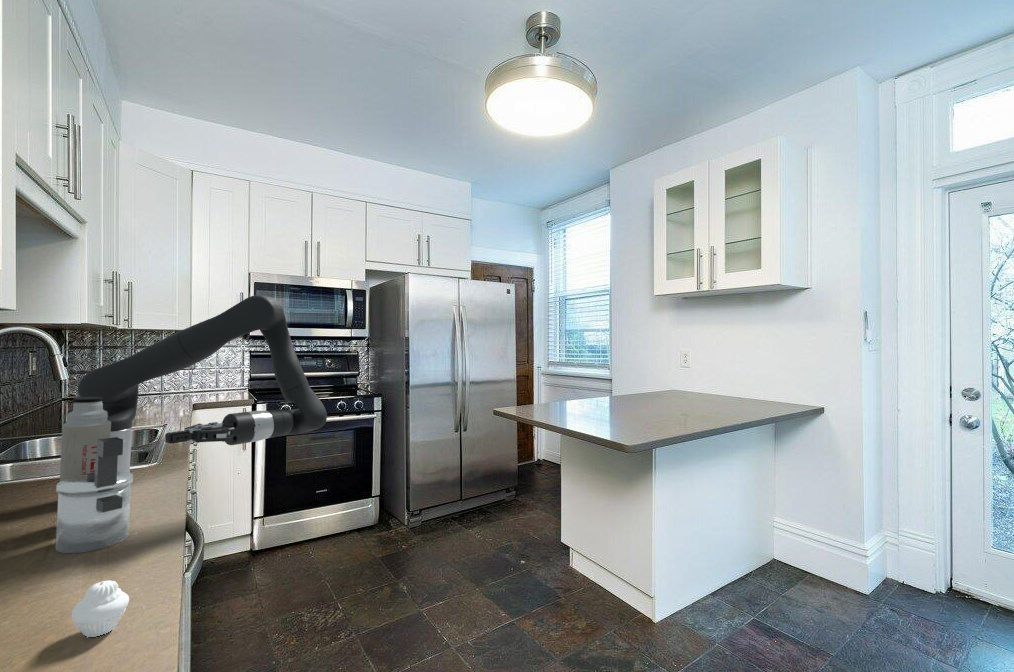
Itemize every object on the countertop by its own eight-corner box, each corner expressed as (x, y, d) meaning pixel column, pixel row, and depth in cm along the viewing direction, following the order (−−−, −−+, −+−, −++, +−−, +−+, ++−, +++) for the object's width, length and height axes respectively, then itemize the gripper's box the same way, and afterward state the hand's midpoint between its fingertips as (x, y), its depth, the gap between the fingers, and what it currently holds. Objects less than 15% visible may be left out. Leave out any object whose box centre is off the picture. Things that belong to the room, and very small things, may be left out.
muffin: (77, 625, 66) (80, 576, 66) (131, 613, 69) (133, 567, 69) (63, 650, 61) (66, 597, 61) (123, 637, 64) (125, 586, 64)
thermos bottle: (112, 523, 102) (118, 397, 103) (64, 535, 95) (70, 400, 96) (99, 515, 106) (104, 394, 107) (52, 526, 100) (58, 397, 100)
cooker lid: (48, 486, 92) (51, 435, 92) (121, 474, 101) (123, 427, 102) (70, 502, 84) (73, 445, 84) (147, 486, 94) (149, 436, 94)
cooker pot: (47, 543, 91) (50, 488, 92) (116, 525, 101) (118, 475, 101) (72, 562, 84) (75, 502, 84) (144, 541, 93) (146, 487, 94)
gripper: (234, 409, 116) (153, 417, 102) (264, 414, 109) (182, 424, 95) (233, 438, 116) (152, 451, 102) (263, 446, 109) (180, 460, 95)
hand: (167, 438), depth 98 cm, fingers closed
